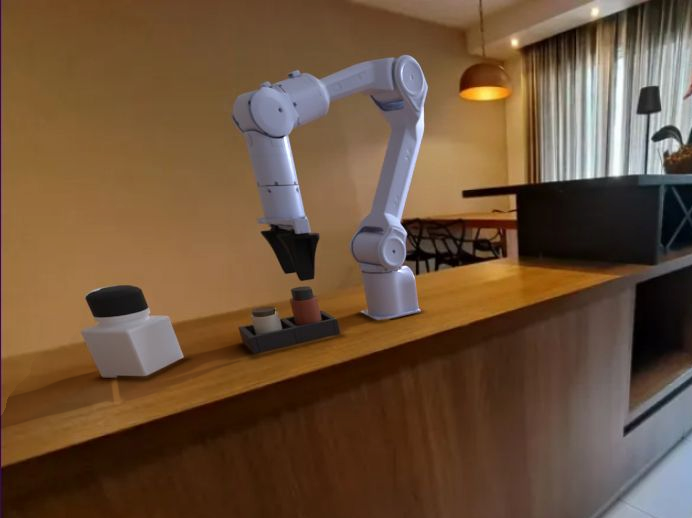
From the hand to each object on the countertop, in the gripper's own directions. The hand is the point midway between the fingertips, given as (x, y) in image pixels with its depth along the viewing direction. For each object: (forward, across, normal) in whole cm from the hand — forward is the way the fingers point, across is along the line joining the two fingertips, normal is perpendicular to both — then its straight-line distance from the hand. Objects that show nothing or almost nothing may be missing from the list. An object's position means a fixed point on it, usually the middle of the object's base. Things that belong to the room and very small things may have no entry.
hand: (299, 276), depth 72 cm
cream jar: (+10, 0, -6) cm, 12 cm away
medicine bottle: (+11, -3, -23) cm, 26 cm away
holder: (+10, 0, -3) cm, 11 cm away
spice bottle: (+10, 0, 0) cm, 10 cm away
